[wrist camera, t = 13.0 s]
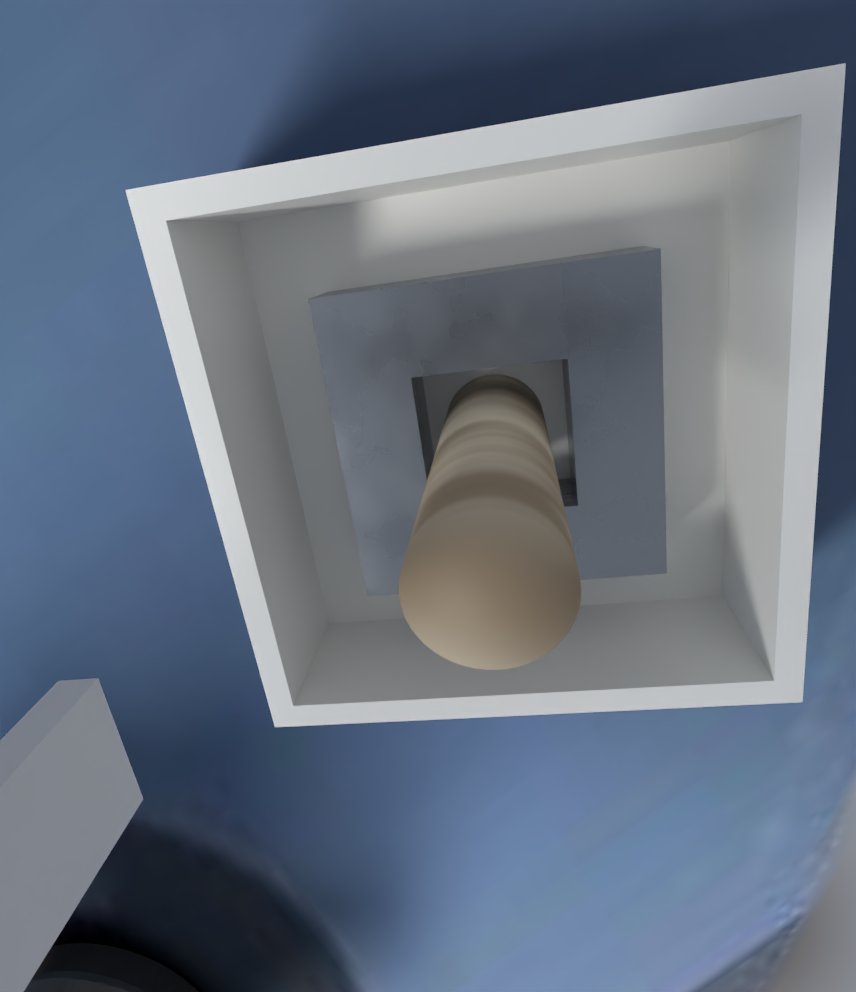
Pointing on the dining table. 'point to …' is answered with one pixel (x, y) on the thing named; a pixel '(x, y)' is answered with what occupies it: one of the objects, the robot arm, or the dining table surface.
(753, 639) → the box
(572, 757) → the dining table surface
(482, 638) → the peg
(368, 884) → the dining table surface
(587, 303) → the bore plate
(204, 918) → the dining table surface
